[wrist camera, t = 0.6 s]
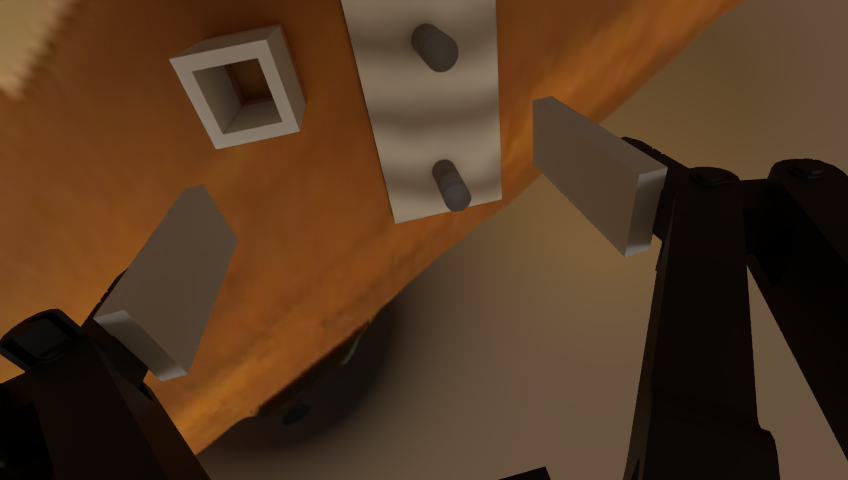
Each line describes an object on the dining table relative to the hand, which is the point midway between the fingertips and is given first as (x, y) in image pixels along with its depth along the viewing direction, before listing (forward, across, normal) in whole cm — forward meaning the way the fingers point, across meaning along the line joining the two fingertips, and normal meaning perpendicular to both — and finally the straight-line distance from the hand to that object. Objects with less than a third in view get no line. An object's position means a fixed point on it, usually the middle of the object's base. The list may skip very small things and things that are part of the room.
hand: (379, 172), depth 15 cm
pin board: (+22, +6, -5) cm, 23 cm away
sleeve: (+22, -8, +1) cm, 23 cm away
